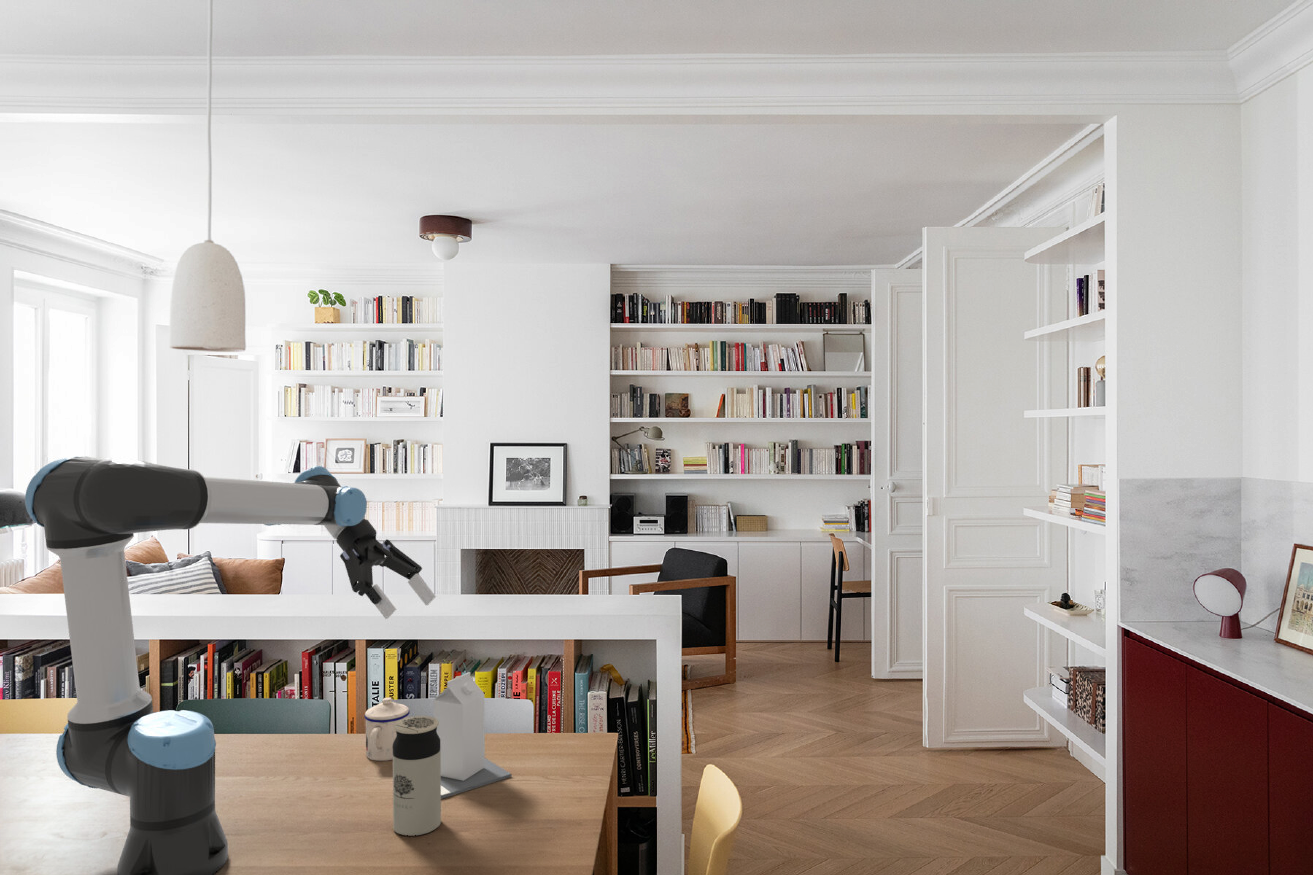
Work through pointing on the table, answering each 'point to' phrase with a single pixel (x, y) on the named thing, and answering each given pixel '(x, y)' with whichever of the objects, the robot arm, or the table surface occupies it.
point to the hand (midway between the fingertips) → (412, 607)
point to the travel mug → (416, 776)
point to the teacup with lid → (383, 728)
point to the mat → (473, 780)
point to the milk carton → (461, 728)
